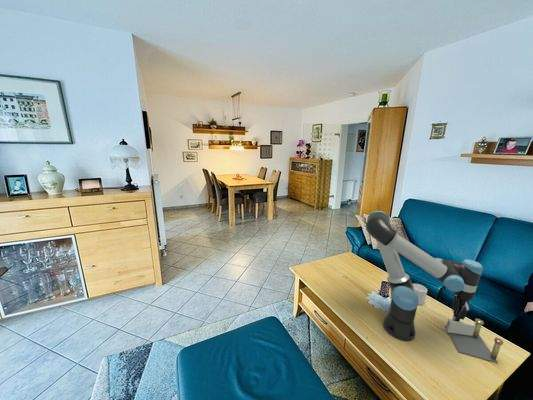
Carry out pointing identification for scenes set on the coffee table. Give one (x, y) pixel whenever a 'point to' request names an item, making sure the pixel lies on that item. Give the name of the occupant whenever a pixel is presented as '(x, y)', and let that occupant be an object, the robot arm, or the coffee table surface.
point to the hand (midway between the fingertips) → (454, 325)
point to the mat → (471, 346)
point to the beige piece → (460, 327)
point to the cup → (420, 293)
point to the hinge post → (477, 328)
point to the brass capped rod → (496, 348)
